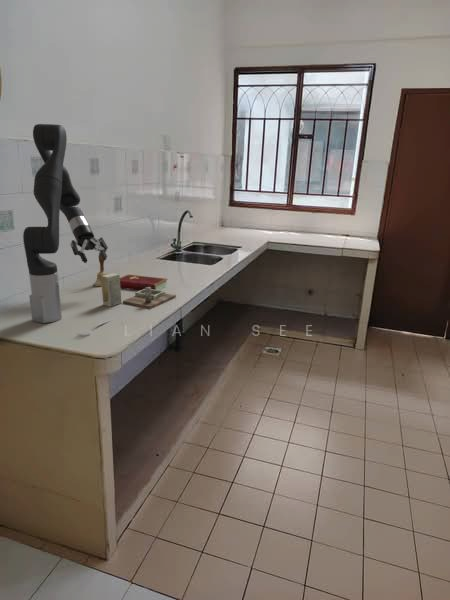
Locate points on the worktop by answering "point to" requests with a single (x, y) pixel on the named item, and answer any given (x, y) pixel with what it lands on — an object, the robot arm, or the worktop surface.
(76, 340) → the worktop surface
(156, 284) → the hardcover book
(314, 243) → the worktop surface
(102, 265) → the hand bell
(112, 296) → the skincare box
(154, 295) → the pin board
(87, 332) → the fork
